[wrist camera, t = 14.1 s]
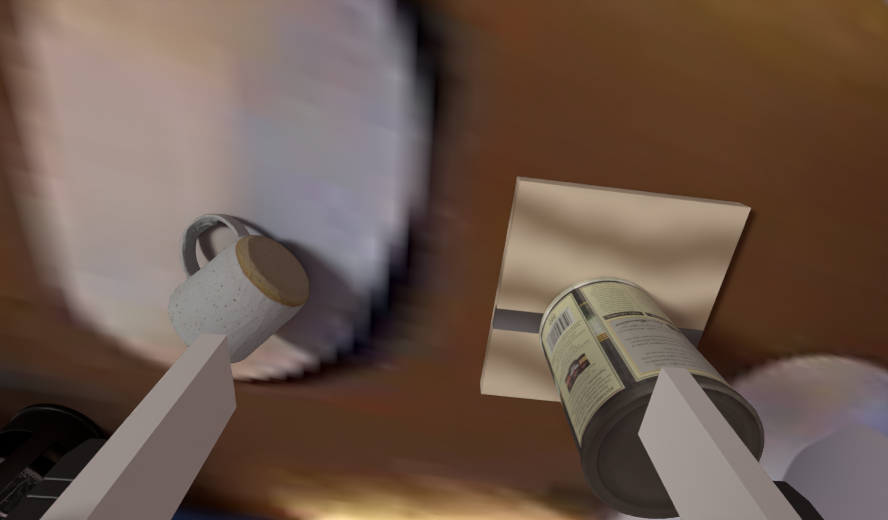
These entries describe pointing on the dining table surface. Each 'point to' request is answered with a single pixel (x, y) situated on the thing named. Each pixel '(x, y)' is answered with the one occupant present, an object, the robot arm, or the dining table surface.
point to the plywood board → (601, 265)
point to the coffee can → (625, 387)
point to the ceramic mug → (236, 289)
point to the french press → (36, 447)
